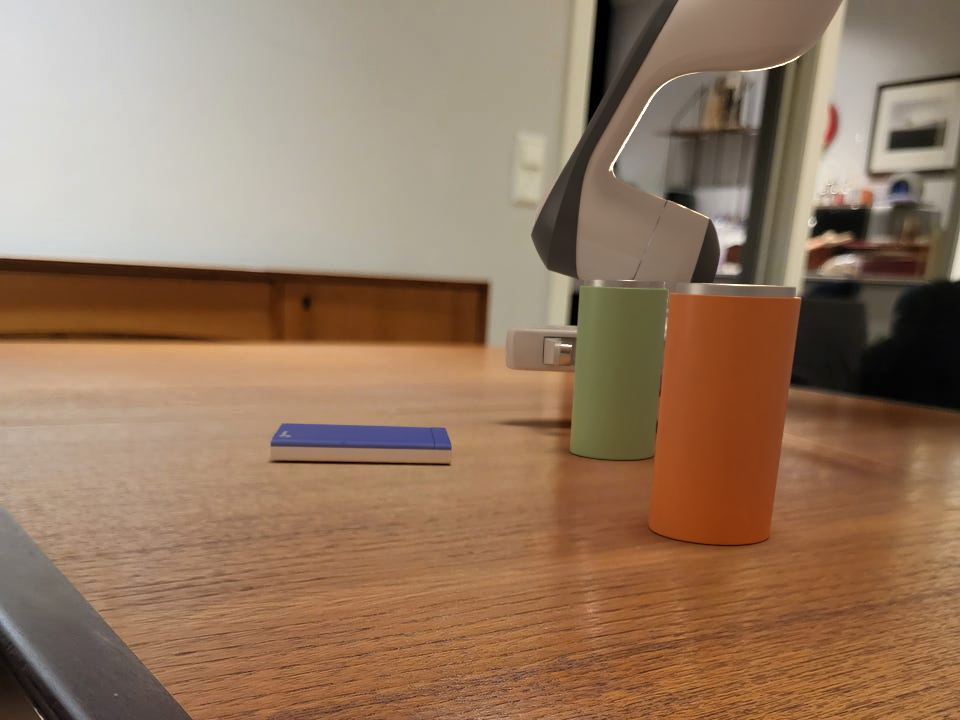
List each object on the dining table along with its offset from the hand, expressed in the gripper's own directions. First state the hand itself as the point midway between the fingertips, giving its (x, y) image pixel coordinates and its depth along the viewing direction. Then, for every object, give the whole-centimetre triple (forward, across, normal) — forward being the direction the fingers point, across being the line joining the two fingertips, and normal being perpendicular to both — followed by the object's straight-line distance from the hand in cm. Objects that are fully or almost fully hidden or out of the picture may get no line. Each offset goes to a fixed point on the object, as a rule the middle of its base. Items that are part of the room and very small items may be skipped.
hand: (620, 357), depth 81 cm
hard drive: (+14, -18, +7) cm, 24 cm away
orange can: (+31, +6, +7) cm, 32 cm away
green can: (+7, 0, +7) cm, 10 cm away
